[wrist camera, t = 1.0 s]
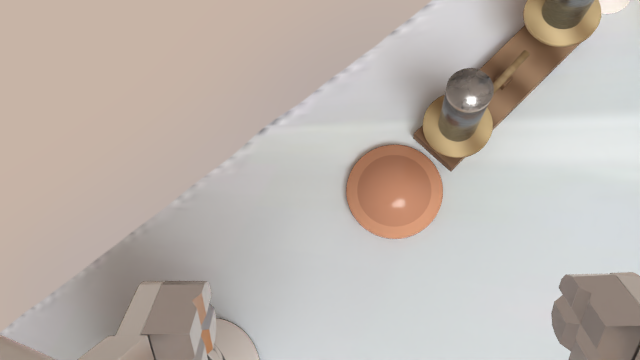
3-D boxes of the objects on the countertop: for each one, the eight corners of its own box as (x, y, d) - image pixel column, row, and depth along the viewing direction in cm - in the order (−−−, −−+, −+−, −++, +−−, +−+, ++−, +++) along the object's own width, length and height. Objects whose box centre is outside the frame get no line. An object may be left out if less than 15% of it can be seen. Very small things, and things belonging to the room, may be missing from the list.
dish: (394, 259, 65) (394, 258, 63) (328, 192, 68) (327, 190, 67) (462, 191, 65) (463, 189, 64) (393, 129, 69) (393, 126, 68)
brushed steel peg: (458, 149, 63) (471, 119, 53) (429, 124, 65) (436, 90, 54) (485, 123, 64) (503, 87, 53) (456, 98, 65) (468, 59, 54)
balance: (456, 176, 66) (465, 159, 58) (408, 133, 69) (410, 111, 60) (590, 43, 68) (617, 8, 60) (539, 6, 70) (558, -33, 62)
